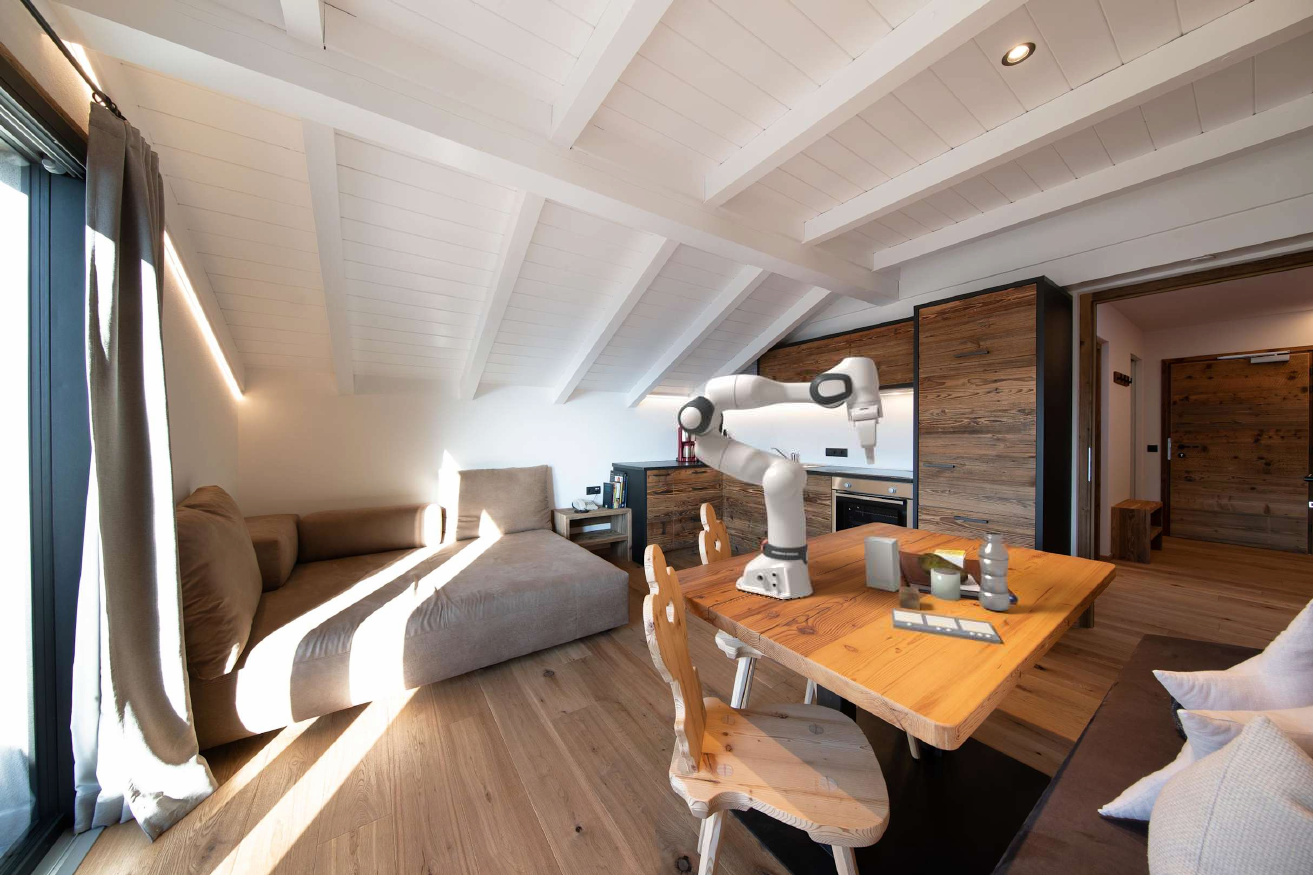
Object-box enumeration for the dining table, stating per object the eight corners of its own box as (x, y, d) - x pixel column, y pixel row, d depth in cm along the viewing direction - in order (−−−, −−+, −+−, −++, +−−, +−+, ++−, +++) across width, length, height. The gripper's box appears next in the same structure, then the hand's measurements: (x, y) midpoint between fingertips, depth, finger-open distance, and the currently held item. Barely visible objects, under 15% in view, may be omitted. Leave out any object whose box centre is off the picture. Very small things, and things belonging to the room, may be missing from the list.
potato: (959, 589, 130) (959, 562, 130) (914, 577, 141) (913, 553, 140) (971, 583, 135) (971, 557, 134) (926, 572, 145) (926, 548, 145)
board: (893, 627, 106) (893, 622, 106) (891, 611, 115) (891, 607, 115) (1000, 643, 97) (1000, 638, 97) (989, 625, 106) (989, 620, 106)
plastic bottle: (1016, 614, 112) (1015, 537, 111) (986, 613, 113) (985, 536, 113) (1001, 604, 118) (1001, 531, 118) (973, 603, 120) (972, 530, 119)
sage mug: (932, 598, 124) (932, 573, 124) (929, 589, 130) (929, 566, 130) (962, 602, 121) (962, 576, 121) (957, 593, 127) (957, 568, 127)
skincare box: (901, 587, 132) (900, 538, 132) (894, 593, 128) (893, 542, 128) (871, 581, 138) (871, 534, 138) (864, 586, 134) (863, 538, 134)
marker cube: (900, 608, 118) (900, 591, 118) (899, 601, 122) (898, 585, 122) (919, 610, 116) (919, 593, 116) (917, 604, 120) (917, 588, 120)
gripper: (854, 415, 133) (859, 461, 133) (851, 414, 115) (857, 466, 114) (877, 412, 130) (883, 459, 130) (877, 411, 112) (884, 464, 112)
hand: (871, 462), depth 122 cm, fingers open, 8 cm apart
